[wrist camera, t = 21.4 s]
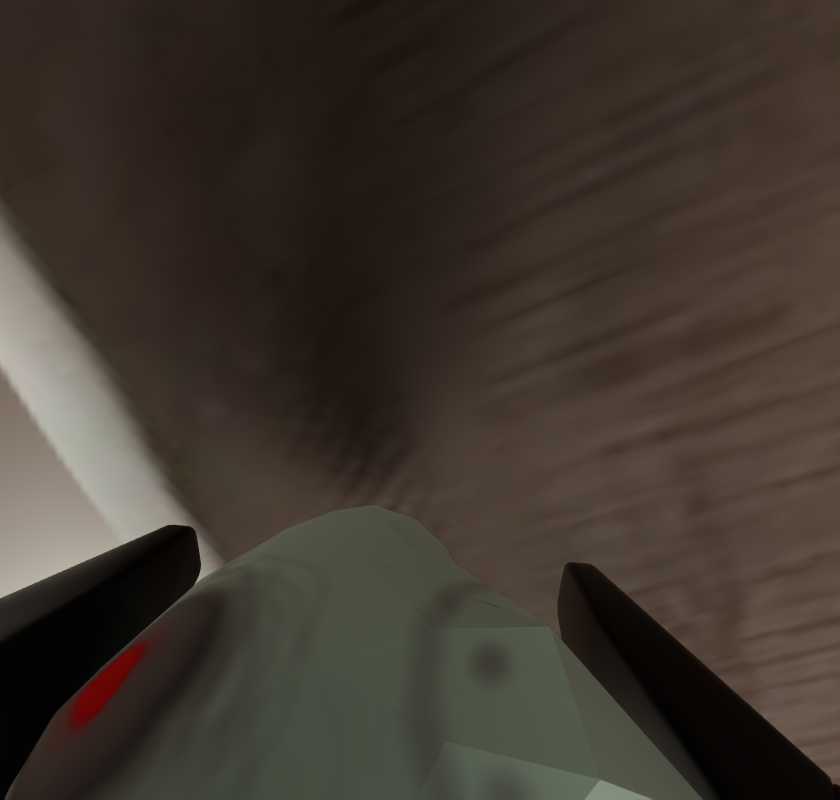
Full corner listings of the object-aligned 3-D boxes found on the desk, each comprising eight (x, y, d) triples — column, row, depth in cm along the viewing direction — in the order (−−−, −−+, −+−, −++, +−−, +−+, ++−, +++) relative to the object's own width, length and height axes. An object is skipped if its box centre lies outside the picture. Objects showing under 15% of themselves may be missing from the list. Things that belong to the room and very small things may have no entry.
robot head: (287, 647, 10) (-40, 1306, 4) (179, 520, 9) (-485, 1101, 3) (601, 524, 8) (1143, 1738, 1) (494, 339, 7) (650, 1305, 1)
